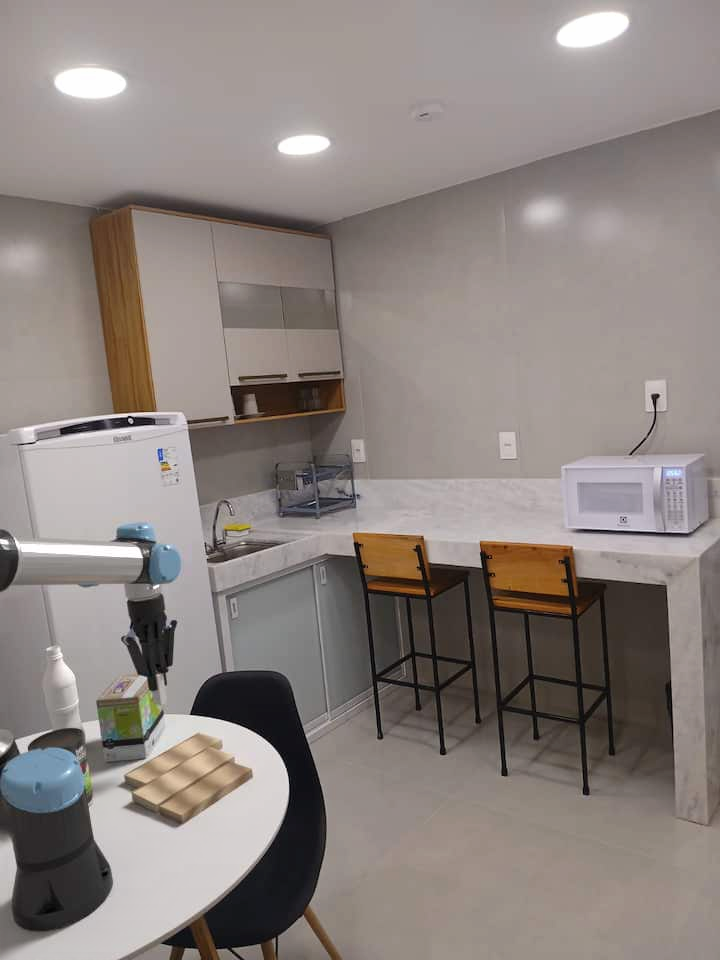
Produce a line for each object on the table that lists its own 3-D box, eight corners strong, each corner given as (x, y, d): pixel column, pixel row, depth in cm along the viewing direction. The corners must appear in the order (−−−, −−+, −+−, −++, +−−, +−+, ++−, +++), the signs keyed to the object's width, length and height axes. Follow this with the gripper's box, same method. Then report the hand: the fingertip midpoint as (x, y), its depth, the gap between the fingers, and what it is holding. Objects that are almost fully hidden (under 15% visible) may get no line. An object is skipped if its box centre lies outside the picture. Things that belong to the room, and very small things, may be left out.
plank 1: (148, 792, 149) (147, 783, 149) (125, 783, 154) (123, 774, 154) (222, 747, 165) (221, 739, 164) (199, 740, 170) (198, 732, 169)
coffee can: (104, 791, 152) (93, 726, 150) (75, 821, 142) (63, 752, 140) (60, 791, 154) (48, 727, 152) (28, 820, 144) (15, 752, 142)
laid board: (183, 824, 136) (181, 814, 136) (159, 814, 141) (158, 804, 140) (253, 777, 150) (251, 768, 150) (229, 769, 155) (228, 760, 154)
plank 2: (157, 813, 141) (156, 804, 141) (132, 800, 146) (131, 791, 146) (235, 763, 156) (234, 755, 156) (209, 753, 161) (208, 746, 161)
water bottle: (47, 757, 170) (28, 654, 167) (68, 742, 177) (50, 642, 174) (73, 758, 168) (55, 653, 165) (93, 743, 175) (76, 642, 171)
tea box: (148, 759, 164) (138, 695, 162) (104, 763, 164) (93, 700, 162) (167, 727, 179) (158, 669, 177) (126, 732, 179) (116, 673, 177)
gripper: (129, 606, 148) (145, 718, 151) (180, 589, 158) (195, 694, 161) (107, 603, 153) (124, 712, 156) (159, 586, 163) (173, 688, 166)
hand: (160, 702), depth 158 cm, fingers closed
